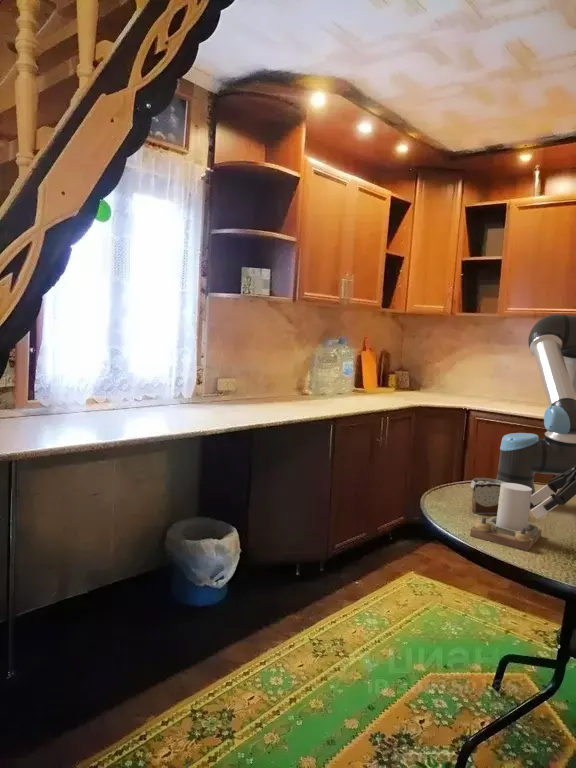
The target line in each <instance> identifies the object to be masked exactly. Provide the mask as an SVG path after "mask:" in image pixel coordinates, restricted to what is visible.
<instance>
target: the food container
mask: <svg viewBox="0 0 576 768" xmlns="http://www.w3.org/2000/svg"><path fill="white" fill-rule="evenodd" d="M501 483H506V482H504V481H500V480H496V478H494V479H493V478H489V477H488V478H487V477H474V478H473V479H472V480H471V482H470V485H469V486H470V488H471V490H472V491H471V492H472V495H471V497H472V500H471V501H472V503H471V505H472V506H471V507H472V508H471V511H472V513H473V514H475V515H480V514H481V515H484V514H485V515H487V514H488V515H489V514H490V515H492V514H493V515H494V514H495V515H497V512H498V504H499V495H500V487H501Z"/></svg>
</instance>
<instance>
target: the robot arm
mask: <svg viewBox="0 0 576 768" xmlns="http://www.w3.org/2000/svg"><path fill="white" fill-rule="evenodd" d="M528 334H529V335H528V338H527V339H528V340H527V344H528V348H529V352H530V353H531V355H532V356H533V357H534V358H535V360H536V364H537V367H538V371H539V374H540V378H541V381H542V385H543V389H544V392H545V395H546V399H547V403H548V407H547V408H546V409H545V411H544V414H543V425H544V428H545V429H546V432H544V437H543V438H540V437H539V435H537V434H536V433H530V432H528V433H527V432H516V433H515V432H514V433H512V432H511V433H508V434H504V435H503V436H502V439H501V442H500V447H499V450H500V451H499V456H498V457H499V458H498V459H499V460H498V467H497V475H496V478H495V479H496V480H500V481H504V482H506V483H515V484H521V485H525V486H528V487H530V488H532V494H531V502H530V508H532V509H530V512H531V513H532V514H533V516H534V517H535V519H537V520H539V519H541V518H542V517H544V516H545V515H547V514H548V513H549V512H551V511H552V510H554V509H556V508H557V507H558V506H564V505H566V504H567V503H568V502H569V501H570V500H571V499H573V498H574V497H575V496H576V315H574V314H561V313H554V314H553V313H552V314H548V315H545V316H544V317H543V316H542V318H540V319H539V320H537V321H536V323H534V325H533V326H532V328H531V329H530V331H529V333H528ZM535 474H542V475H543V474H544V475H545V474H546V475H556V476H555V477H553V478H551V479H549V481H548V482H547V484H545V485H543V487H541V488H540V489H539V490H537V491H536V487H535V482H534V479H535ZM535 505H536V506H535Z"/></svg>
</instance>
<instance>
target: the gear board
mask: <svg viewBox="0 0 576 768" xmlns="http://www.w3.org/2000/svg"><path fill="white" fill-rule="evenodd" d="M496 521H497V516H486V517H485V516H482V517H481V519H476V520H475V522H474V526H473V527H471V528H470V533H469V536H470V537H472V538H476V539H480V540H483V539H484V541H487V540H488V542H491V541H492V543H494V542H496V543H495V544H498V543H500V544H499V545H502V544H503V545H502V546H506V545H507V546H506V547H509V546H511V547H510V548H513V547H514V549H517V548H518V550H521V551H525V552H528V551H530V549H531V548H532V547H533V546H534V544H535V543H536V542H537V541H538V540H539V539H540V538H541V537H542V528H539V527H538V526H536V524H533V523H531V522H529V521H528V527H527V531H526V528H523V527H521V531H515V530H511V529H507V528H503V527H499V526H497V525H496Z"/></svg>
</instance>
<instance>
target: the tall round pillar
mask: <svg viewBox="0 0 576 768" xmlns="http://www.w3.org/2000/svg"><path fill="white" fill-rule="evenodd" d="M531 494H532V488H530V487H528V486H525V485H521V484H515V483H501V487H500V495H499V504H498V512H497V514H496V517H497V521H496V525H497V526H499V527H503V528H507V529H511V530H515V531H521V527H523V528H526V531H527V527H528V522H529V517H530V511H531V507H530V502H531Z"/></svg>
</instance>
